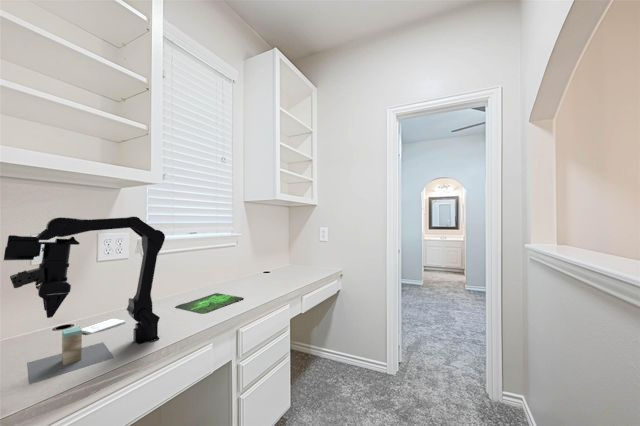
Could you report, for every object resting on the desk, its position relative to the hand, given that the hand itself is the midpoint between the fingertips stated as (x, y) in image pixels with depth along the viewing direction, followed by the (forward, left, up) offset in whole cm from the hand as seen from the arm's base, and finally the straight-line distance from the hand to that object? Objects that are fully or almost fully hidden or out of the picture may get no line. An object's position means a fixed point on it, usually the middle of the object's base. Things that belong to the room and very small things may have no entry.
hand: (48, 313), depth 79 cm
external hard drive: (-17, -26, -17) cm, 35 cm away
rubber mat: (-5, 0, -16) cm, 17 cm away
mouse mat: (-61, -24, -17) cm, 68 cm away
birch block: (-5, 0, -15) cm, 16 cm away
